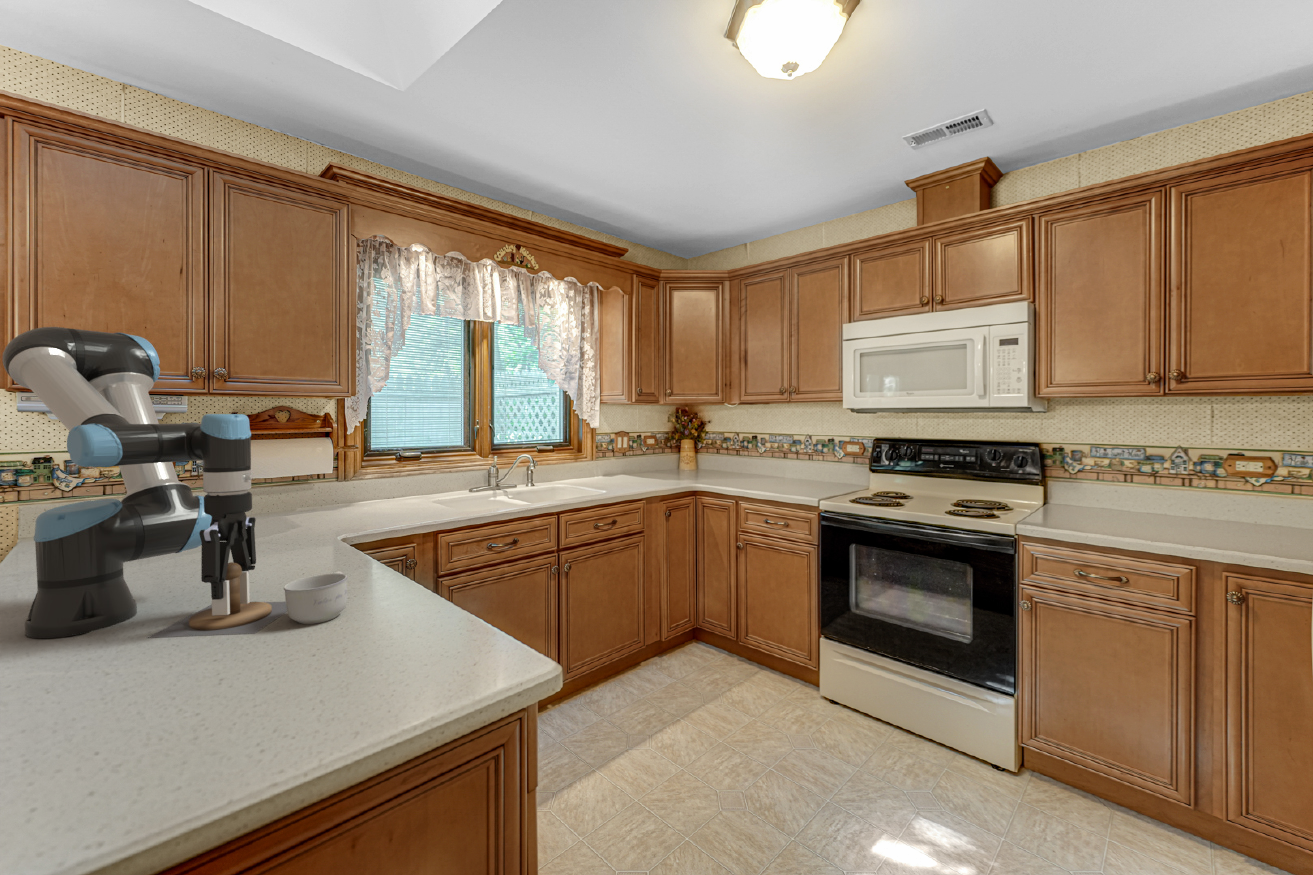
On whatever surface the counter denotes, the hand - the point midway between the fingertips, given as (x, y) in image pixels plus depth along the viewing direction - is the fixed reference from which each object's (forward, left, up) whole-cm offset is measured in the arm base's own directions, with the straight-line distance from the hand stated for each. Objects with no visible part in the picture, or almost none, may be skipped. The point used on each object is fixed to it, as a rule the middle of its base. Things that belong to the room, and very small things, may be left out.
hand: (231, 608), depth 111 cm
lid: (0, 0, -2) cm, 2 cm away
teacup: (+17, 0, -3) cm, 17 cm away
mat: (0, 0, -2) cm, 2 cm away
